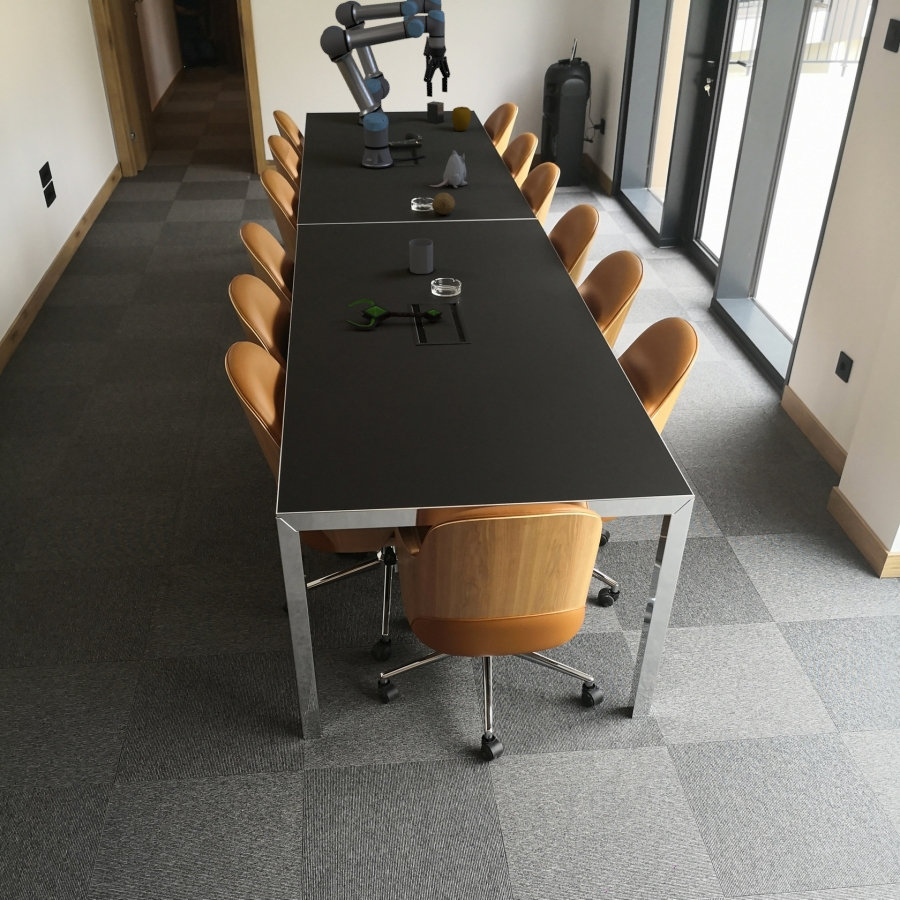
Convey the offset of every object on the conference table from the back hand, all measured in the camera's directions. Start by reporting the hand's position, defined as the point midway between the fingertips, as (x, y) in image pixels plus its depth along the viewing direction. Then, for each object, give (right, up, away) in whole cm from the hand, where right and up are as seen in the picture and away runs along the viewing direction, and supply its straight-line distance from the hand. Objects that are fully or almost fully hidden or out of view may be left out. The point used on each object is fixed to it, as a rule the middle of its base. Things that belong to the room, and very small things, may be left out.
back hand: (435, 67), depth 494 cm
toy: (+7, -99, -99) cm, 141 cm away
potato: (+6, -119, -131) cm, 177 cm away
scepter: (-9, -178, -223) cm, 286 cm away
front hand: (+2, -44, -70) cm, 82 cm away
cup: (-2, -154, -185) cm, 241 cm away
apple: (+15, -37, -3) cm, 40 cm away
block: (0, -25, +16) cm, 30 cm away
